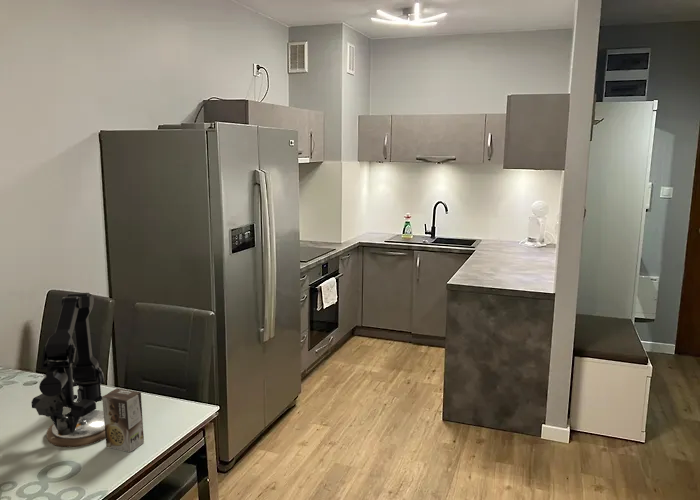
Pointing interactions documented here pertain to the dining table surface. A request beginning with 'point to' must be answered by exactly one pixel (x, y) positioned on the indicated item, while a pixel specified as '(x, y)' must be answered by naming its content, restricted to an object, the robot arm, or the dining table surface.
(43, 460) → the dining table surface
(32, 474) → the dining table surface
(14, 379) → the dining table surface
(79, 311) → the robot arm
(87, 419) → the dial
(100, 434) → the dial base
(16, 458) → the dining table surface
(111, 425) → the coffee box
